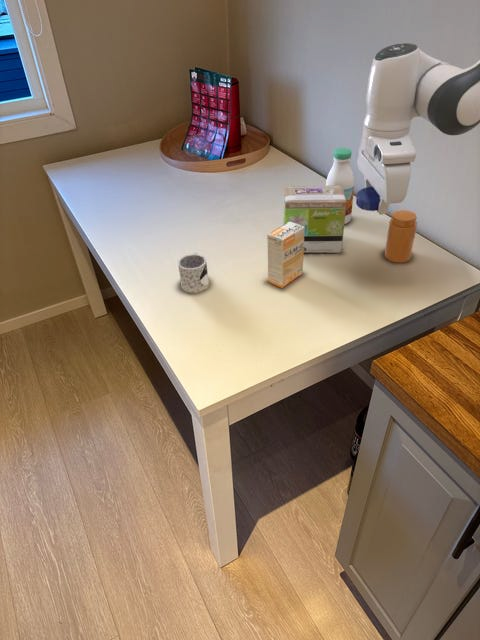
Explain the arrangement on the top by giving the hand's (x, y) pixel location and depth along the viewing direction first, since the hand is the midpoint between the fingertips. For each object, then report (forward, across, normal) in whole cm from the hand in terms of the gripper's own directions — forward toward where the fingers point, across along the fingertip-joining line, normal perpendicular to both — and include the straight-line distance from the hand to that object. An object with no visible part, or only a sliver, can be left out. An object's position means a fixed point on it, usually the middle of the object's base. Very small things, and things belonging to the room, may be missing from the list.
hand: (375, 204), depth 104 cm
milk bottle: (+20, -31, +1) cm, 37 cm away
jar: (+19, -9, +11) cm, 24 cm away
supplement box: (+20, -4, -19) cm, 27 cm away
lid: (-2, 0, -1) cm, 2 cm away
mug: (+20, -7, -40) cm, 45 cm away
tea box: (+20, -18, -9) cm, 28 cm away
